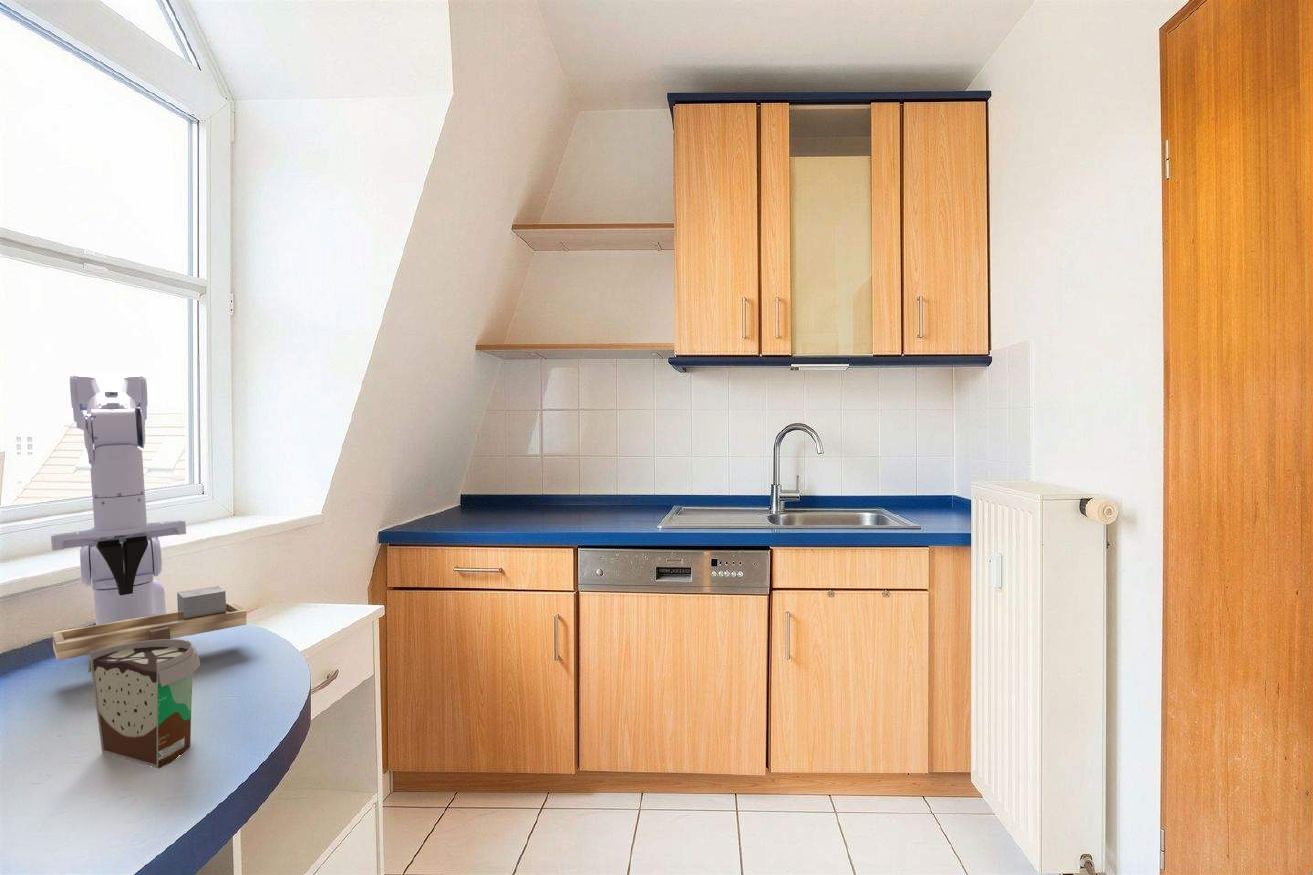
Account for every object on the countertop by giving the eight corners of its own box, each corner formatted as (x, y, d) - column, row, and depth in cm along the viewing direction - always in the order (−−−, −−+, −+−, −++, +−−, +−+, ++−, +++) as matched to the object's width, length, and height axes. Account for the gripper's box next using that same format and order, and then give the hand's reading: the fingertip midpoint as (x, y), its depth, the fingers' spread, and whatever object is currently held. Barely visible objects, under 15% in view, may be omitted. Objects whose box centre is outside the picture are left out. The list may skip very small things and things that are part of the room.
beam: (57, 664, 83) (56, 644, 83) (53, 650, 89) (52, 632, 89) (246, 627, 97) (246, 610, 97) (233, 618, 103) (232, 601, 103)
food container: (233, 741, 69) (226, 643, 68) (167, 771, 63) (160, 664, 63) (159, 724, 74) (153, 632, 74) (93, 750, 68) (86, 651, 68)
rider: (184, 626, 93) (183, 597, 93) (178, 620, 97) (177, 592, 97) (226, 619, 97) (225, 591, 97) (219, 613, 100) (218, 586, 100)
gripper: (50, 503, 86) (58, 610, 86) (187, 491, 96) (193, 586, 96) (47, 500, 91) (54, 601, 91) (178, 489, 101) (184, 580, 102)
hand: (125, 593), depth 94 cm, fingers closed
